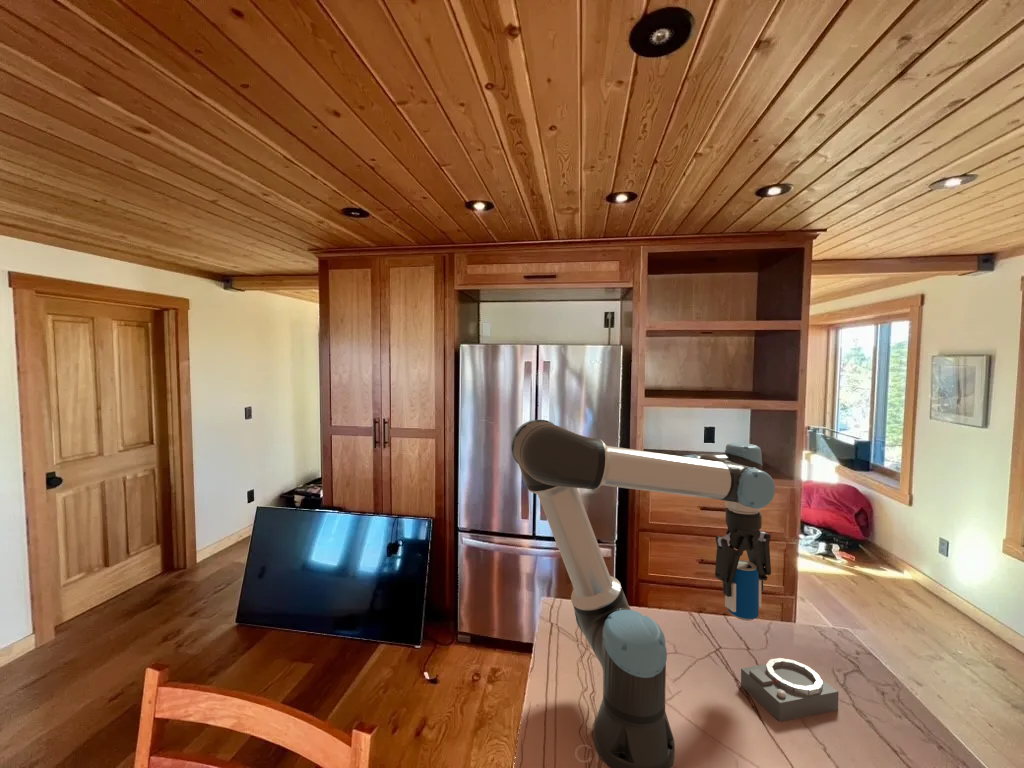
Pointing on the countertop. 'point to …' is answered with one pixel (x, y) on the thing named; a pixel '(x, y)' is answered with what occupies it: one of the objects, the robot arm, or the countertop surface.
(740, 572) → the beverage can
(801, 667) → the mount ring
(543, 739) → the countertop surface
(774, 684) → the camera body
